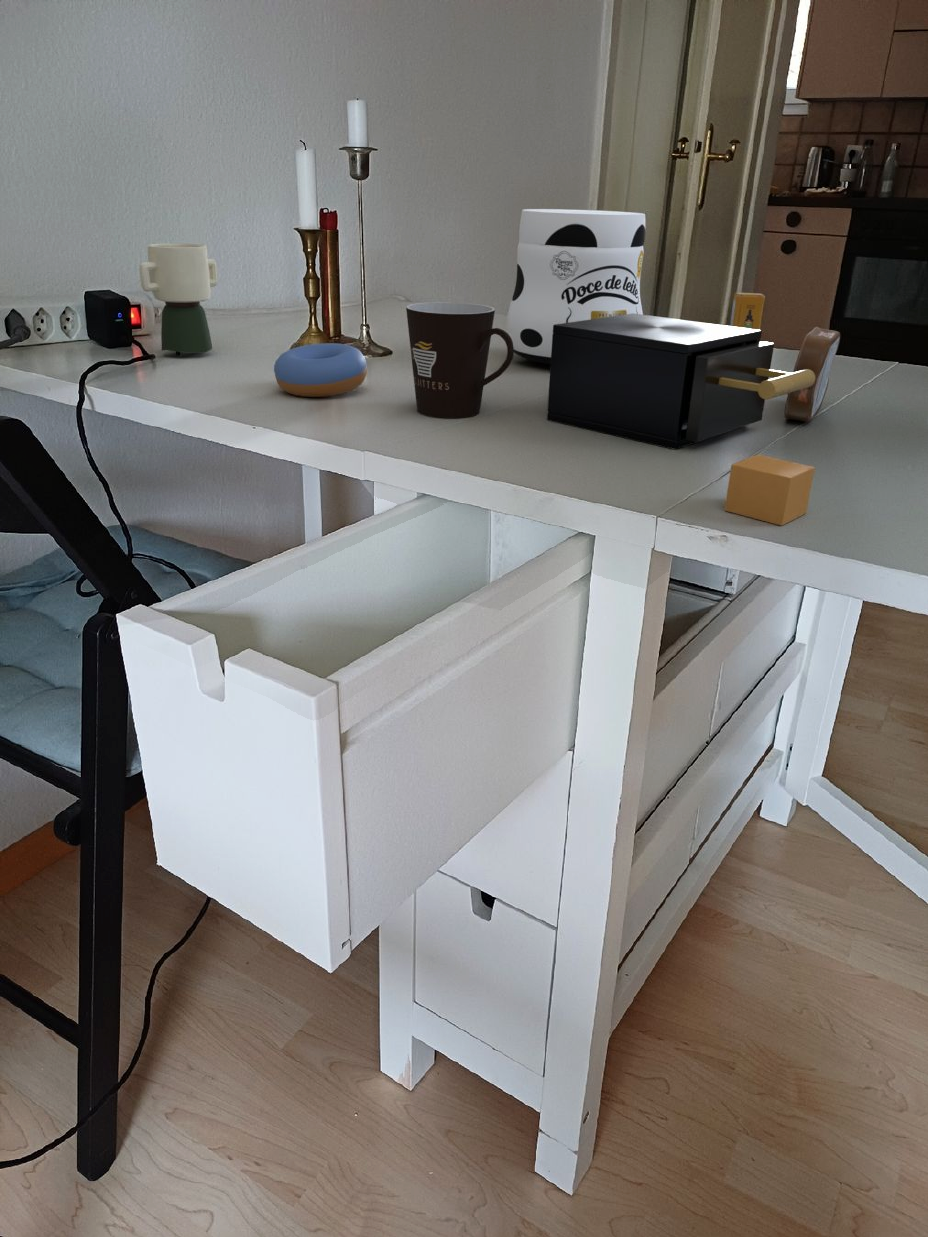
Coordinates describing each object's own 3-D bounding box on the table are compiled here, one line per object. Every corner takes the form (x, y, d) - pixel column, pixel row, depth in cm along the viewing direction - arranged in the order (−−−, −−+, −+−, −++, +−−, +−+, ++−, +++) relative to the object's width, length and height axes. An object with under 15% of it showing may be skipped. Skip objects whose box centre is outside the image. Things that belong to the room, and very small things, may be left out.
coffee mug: (394, 404, 96) (394, 303, 92) (471, 399, 99) (474, 301, 95) (433, 431, 86) (435, 319, 82) (517, 425, 89) (523, 317, 85)
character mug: (206, 346, 124) (197, 242, 119) (239, 353, 120) (231, 245, 115) (134, 355, 117) (120, 244, 111) (167, 363, 113) (154, 248, 107)
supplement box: (749, 377, 115) (763, 292, 111) (752, 382, 112) (766, 295, 107) (722, 375, 115) (734, 290, 111) (724, 380, 112) (736, 293, 108)
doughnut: (285, 403, 95) (283, 357, 93) (267, 384, 104) (264, 341, 102) (378, 398, 99) (378, 353, 97) (353, 379, 107) (352, 338, 105)
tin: (800, 399, 104) (814, 321, 100) (829, 402, 103) (845, 323, 99) (778, 427, 92) (794, 339, 88) (811, 431, 90) (828, 342, 87)
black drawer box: (747, 425, 92) (762, 330, 88) (675, 449, 83) (688, 344, 79) (623, 400, 101) (632, 313, 97) (546, 420, 92) (552, 324, 88)
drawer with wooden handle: (815, 430, 87) (830, 350, 84) (753, 454, 79) (767, 367, 75) (643, 397, 98) (651, 325, 95) (573, 415, 90) (579, 337, 87)
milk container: (608, 381, 110) (624, 216, 103) (481, 364, 118) (487, 209, 110) (657, 360, 124) (674, 213, 116) (540, 346, 132) (548, 207, 124)
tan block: (806, 513, 68) (815, 466, 66) (781, 526, 65) (790, 477, 63) (749, 499, 70) (757, 454, 69) (723, 510, 68) (731, 464, 66)
